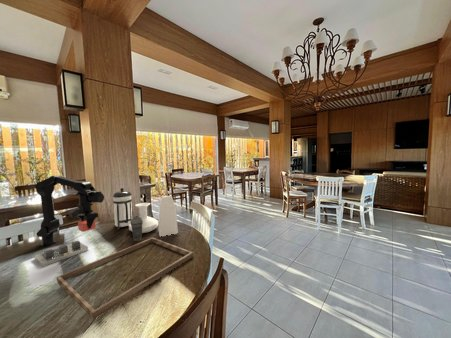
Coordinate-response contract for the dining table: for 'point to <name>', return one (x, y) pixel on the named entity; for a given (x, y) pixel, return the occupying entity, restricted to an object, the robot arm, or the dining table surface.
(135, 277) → the dining table surface
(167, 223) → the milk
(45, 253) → the block
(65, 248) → the grey cube
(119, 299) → the serving tray rim
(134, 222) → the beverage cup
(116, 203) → the coffee press
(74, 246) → the block
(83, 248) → the panel
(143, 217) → the candle holder
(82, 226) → the cap
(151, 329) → the dining table surface
